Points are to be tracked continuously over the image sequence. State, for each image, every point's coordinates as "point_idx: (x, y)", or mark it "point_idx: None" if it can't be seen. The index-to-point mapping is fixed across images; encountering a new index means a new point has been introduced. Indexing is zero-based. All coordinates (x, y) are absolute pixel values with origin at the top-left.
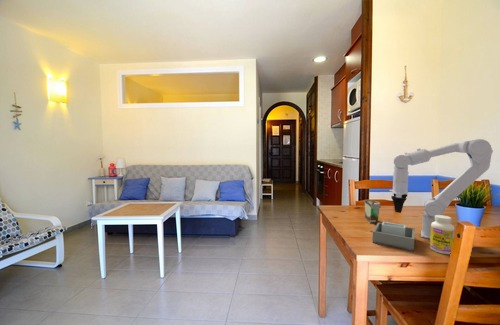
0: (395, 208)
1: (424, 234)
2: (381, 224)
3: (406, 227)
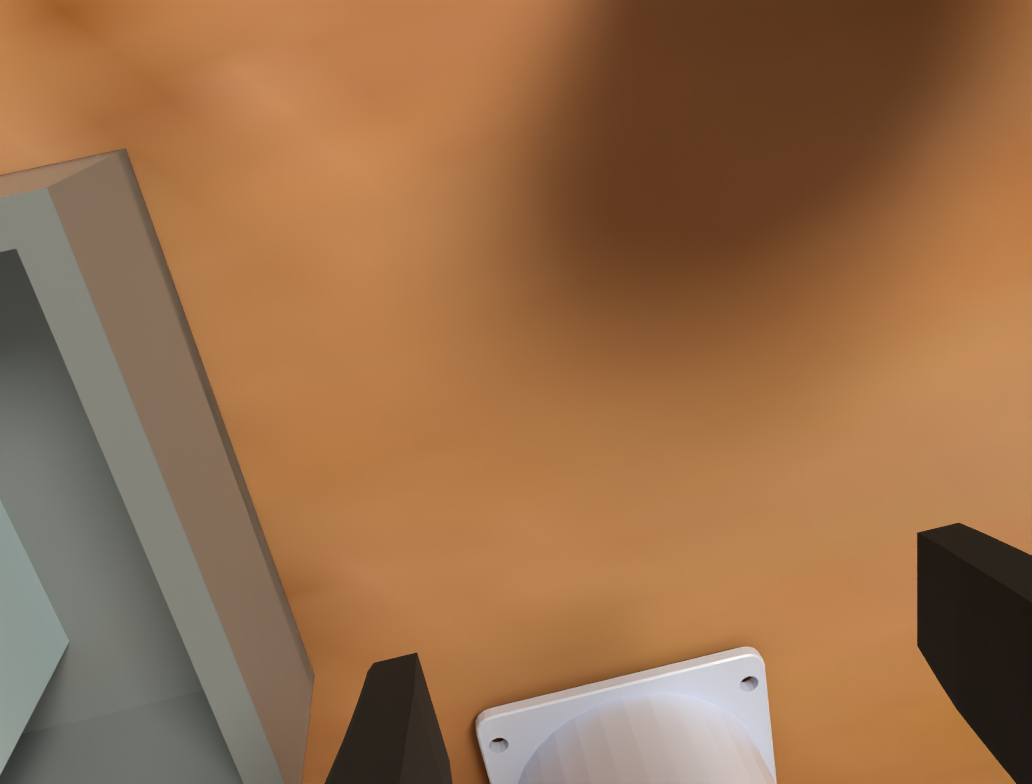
0: (340, 767)
1: (549, 750)
2: (46, 280)
3: (220, 723)
